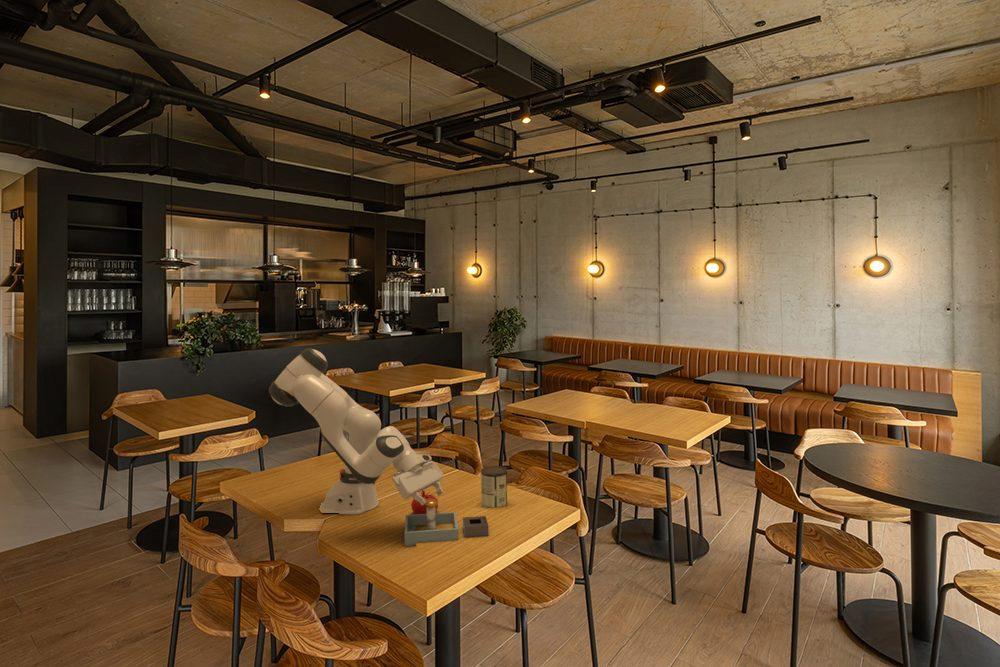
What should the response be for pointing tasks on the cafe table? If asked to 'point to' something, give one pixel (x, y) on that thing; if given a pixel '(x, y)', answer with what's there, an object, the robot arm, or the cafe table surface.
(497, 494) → the coffee can
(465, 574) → the cafe table surface
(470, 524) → the dark grey socket block
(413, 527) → the tray
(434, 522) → the lock pin
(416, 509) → the red round piece
